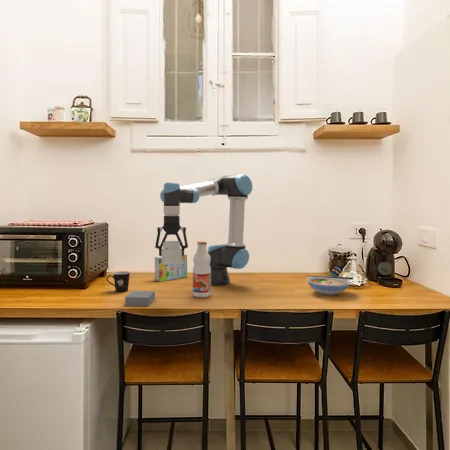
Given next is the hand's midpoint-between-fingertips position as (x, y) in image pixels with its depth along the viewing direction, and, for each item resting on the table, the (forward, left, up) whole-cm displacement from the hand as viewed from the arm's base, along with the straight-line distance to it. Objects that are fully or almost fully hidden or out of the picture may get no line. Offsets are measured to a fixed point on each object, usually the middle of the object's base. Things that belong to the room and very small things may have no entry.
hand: (171, 262), depth 165 cm
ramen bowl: (-80, -22, -20) cm, 85 cm away
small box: (0, 0, -1) cm, 1 cm away
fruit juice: (-13, -14, -20) cm, 27 cm away
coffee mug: (+33, -20, -20) cm, 43 cm away
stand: (+15, +1, -19) cm, 25 cm away
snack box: (+11, -52, -20) cm, 57 cm away
